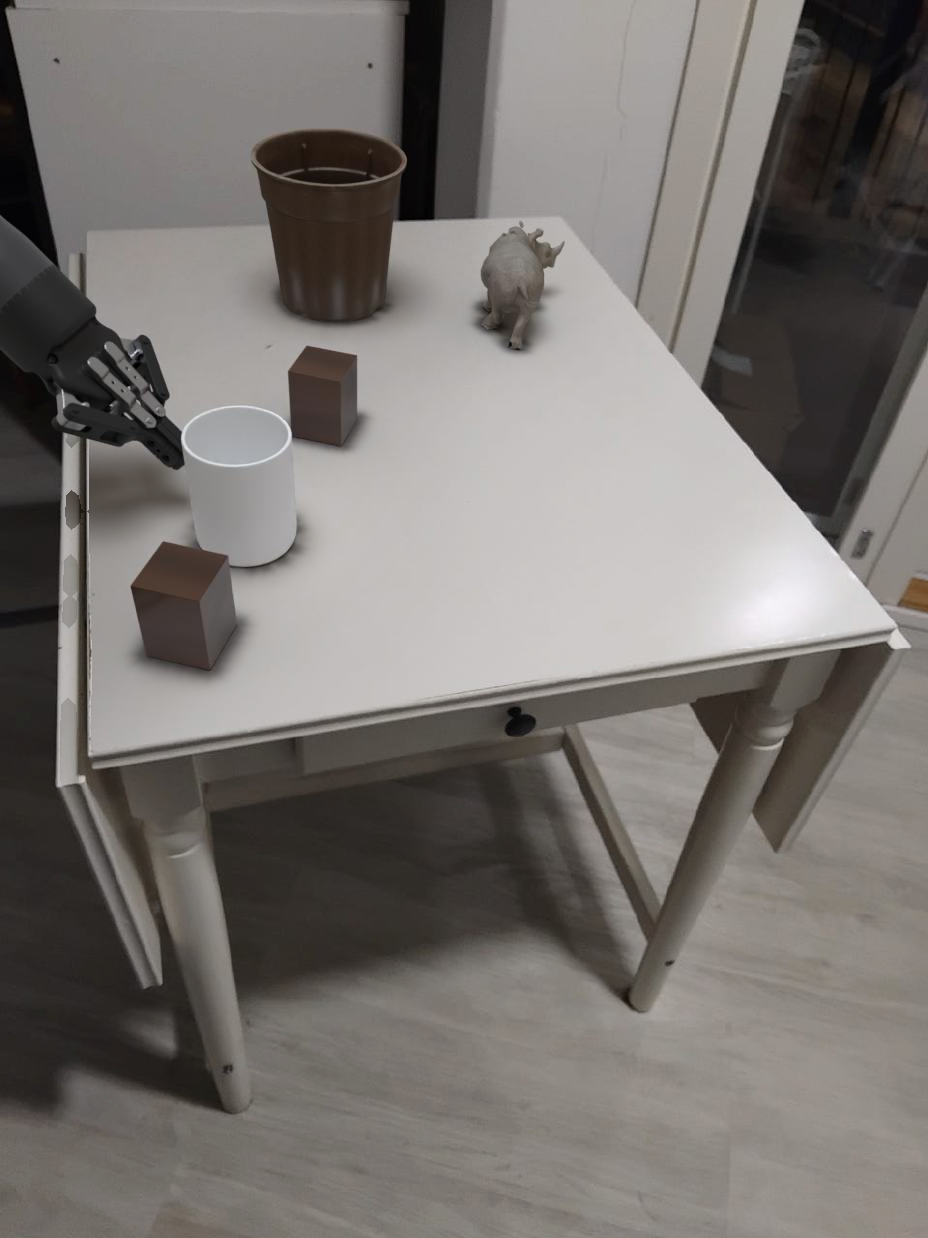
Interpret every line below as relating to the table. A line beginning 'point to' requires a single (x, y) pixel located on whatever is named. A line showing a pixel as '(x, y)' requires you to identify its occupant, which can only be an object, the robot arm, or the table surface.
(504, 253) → the rhinoceros figurine
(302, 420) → the block far
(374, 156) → the plant pot
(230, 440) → the cup
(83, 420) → the robot arm
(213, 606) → the block near
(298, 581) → the table surface
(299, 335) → the table surface
